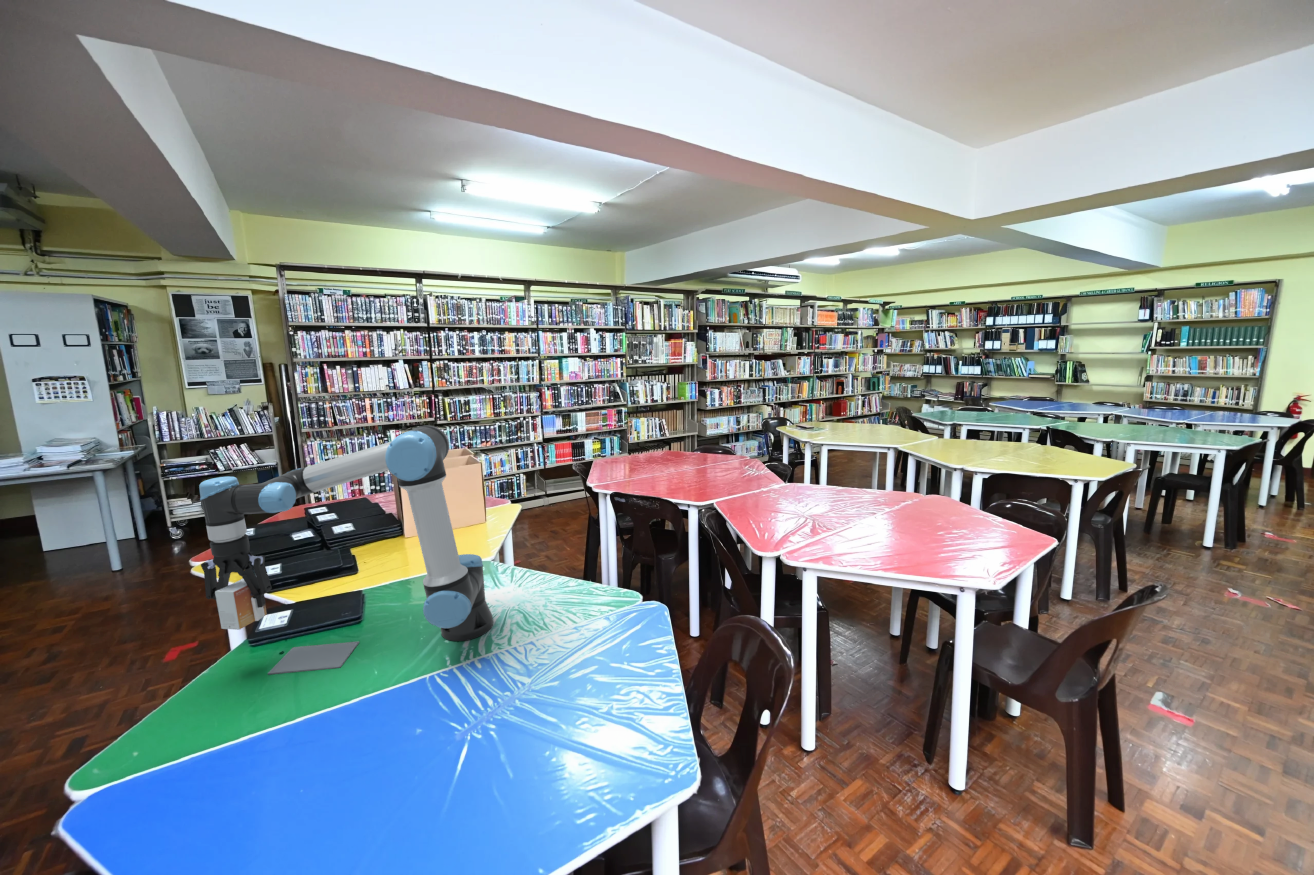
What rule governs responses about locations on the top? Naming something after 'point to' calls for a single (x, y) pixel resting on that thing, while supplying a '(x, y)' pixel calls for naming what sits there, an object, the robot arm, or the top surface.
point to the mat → (314, 657)
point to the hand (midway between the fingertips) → (244, 619)
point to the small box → (235, 605)
